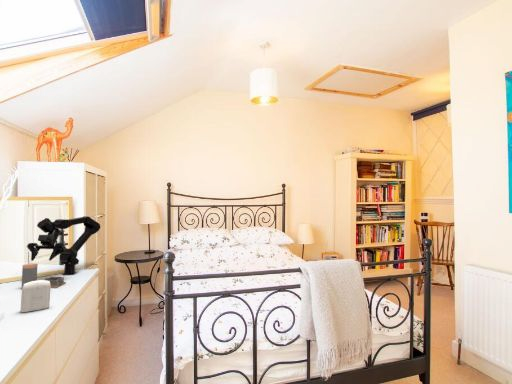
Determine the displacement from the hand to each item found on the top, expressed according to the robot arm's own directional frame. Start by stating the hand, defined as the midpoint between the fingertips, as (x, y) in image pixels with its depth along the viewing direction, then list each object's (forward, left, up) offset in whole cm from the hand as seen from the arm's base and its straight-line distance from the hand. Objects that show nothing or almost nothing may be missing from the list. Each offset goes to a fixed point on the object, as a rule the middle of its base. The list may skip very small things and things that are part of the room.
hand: (40, 260), depth 169 cm
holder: (+5, +8, -13) cm, 16 cm away
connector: (+8, -2, -13) cm, 15 cm away
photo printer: (+43, +13, -13) cm, 47 cm away
